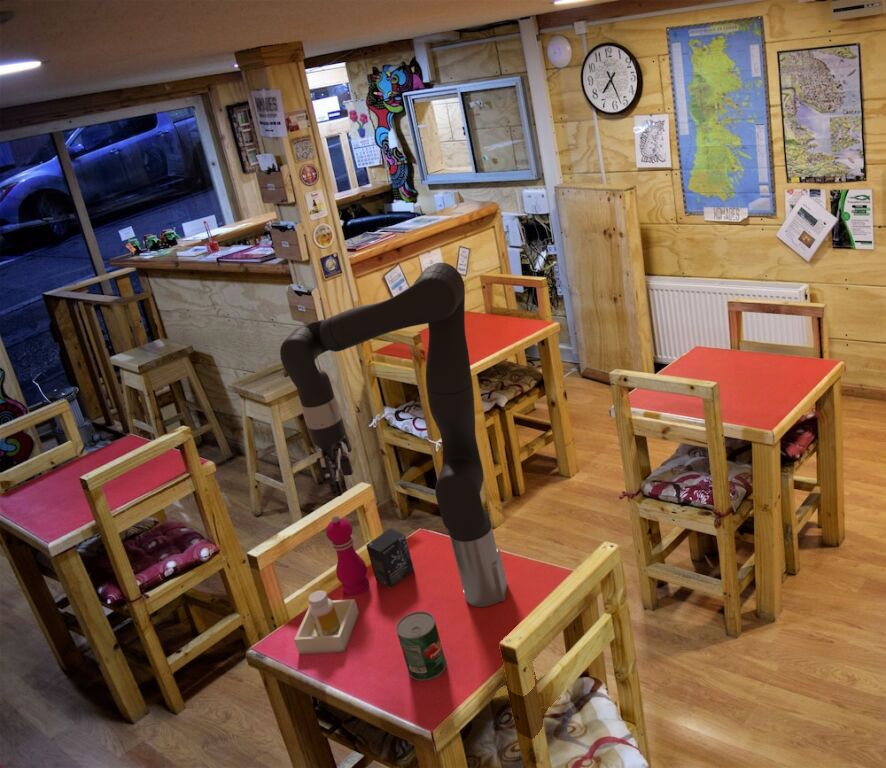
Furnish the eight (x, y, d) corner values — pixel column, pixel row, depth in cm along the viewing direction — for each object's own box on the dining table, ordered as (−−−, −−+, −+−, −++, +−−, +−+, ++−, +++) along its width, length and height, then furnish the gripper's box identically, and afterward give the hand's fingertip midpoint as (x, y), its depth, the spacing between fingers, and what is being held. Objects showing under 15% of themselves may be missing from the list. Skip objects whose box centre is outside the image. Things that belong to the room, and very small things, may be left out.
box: (391, 589, 205) (380, 551, 201) (375, 581, 209) (364, 544, 205) (415, 570, 209) (405, 533, 205) (399, 563, 213) (389, 527, 209)
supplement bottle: (345, 624, 195) (334, 589, 192) (333, 641, 191) (321, 605, 187) (325, 621, 198) (313, 586, 194) (312, 638, 194) (300, 602, 190)
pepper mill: (373, 575, 211) (352, 504, 203) (368, 594, 205) (346, 522, 197) (344, 579, 212) (322, 509, 204) (338, 598, 206) (316, 526, 198)
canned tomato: (407, 658, 182) (395, 616, 178) (444, 649, 182) (433, 607, 178) (409, 685, 175) (396, 641, 170) (448, 676, 175) (436, 632, 170)
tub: (358, 613, 199) (354, 599, 197) (344, 651, 188) (339, 637, 186) (315, 615, 202) (311, 601, 200) (299, 654, 190) (294, 639, 189)
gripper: (331, 433, 178) (351, 501, 184) (349, 401, 191) (367, 466, 197) (296, 437, 180) (317, 504, 186) (316, 405, 192) (336, 469, 199)
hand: (343, 484), depth 192 cm, fingers open, 8 cm apart
